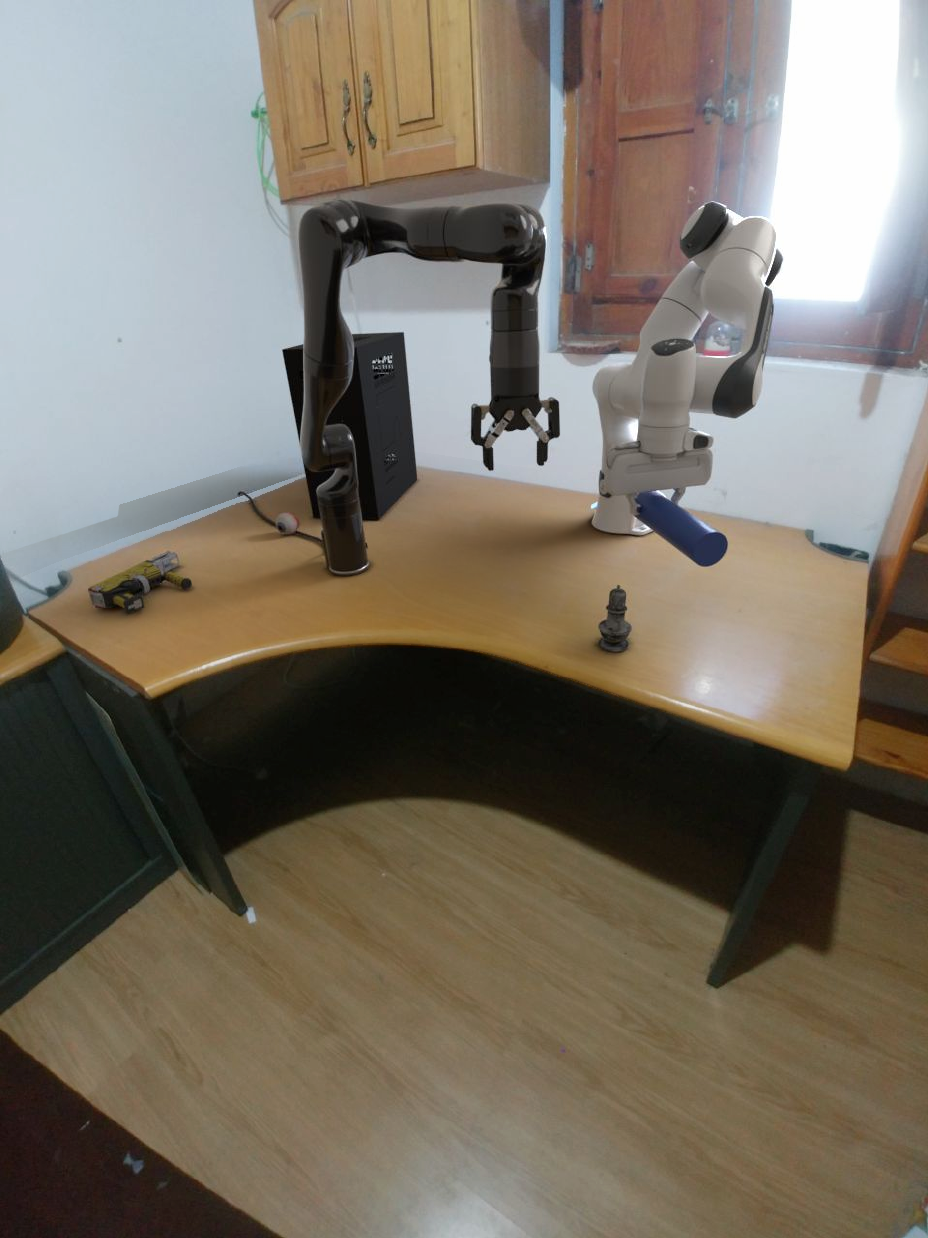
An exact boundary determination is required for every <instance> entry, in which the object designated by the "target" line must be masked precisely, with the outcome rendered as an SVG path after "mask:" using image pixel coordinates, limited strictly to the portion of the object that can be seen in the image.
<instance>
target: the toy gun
mask: <svg viewBox="0 0 928 1238" xmlns="http://www.w3.org/2000/svg"><path fill="white" fill-rule="evenodd" d="M175 559H176V561H177V563H176V562H173V560H175ZM178 567H180V561H179V554H177V553H176V552H174V551H173V552H171V550H170V551H169V550H167V551H165V552H164V553H161V554H159V555H157V556H155V557H152V558H151V559H146V560H145V561H142V562H139V563H138V564H136V565H133V566H132V567H130V568H127V569H125V570H123V571H120V572H118V573H116V574H115V575H113V576H111V577H108V578H107V579H104V580H102V581H100V582H97V583H96V584H93V585H91V586H89V587H88V588H87V591H88V594H89V599H90V602H91V605H93V606H94V607H95V609H99V610H102V609H104V608H105V609H112V608H116V607H121V608H123V609H124V610H125V614H126V615H131V614H134V613H136V612H138V611H140V610H143V609H145V608H146V607H145V602H144V598H143V596H144V595H146V594H148V593H150V590H151V588H153V587H156V586H158V585H160V584H163V583H164V581H166V582H168V583H170V584H173V585H176V586H178V587H181V588H182V589H184V590H188V589H190V588H191V587H193V583H192V582H193V581H192V579H190V578H189V577H184V576H182V575H180V574H178V573H174V572H173V571H172V570H173V569H176V568H178Z"/></svg>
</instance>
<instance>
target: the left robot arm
mask: <svg viewBox="0 0 928 1238" xmlns="http://www.w3.org/2000/svg"><path fill="white" fill-rule="evenodd" d="M297 231H298V232H297V233H298V234H297V241H298V243H297V244H298V256H299V265H300V275H301V287H302V301H303V302H302V303H303V304H302V306H303V343H302V344H303V370H304V404H303V415H302V424H301V434H300V443H299V448H301V449H300V455H301V459H302V463H303V462H304V464H305V466H306V467H307V468H308V469H309V470H310V471H312V472H323V471H328V470H333V469H335V472H334V473H333V475H332V476H331V477H330V478H329V479H328V480H326V481H325V482H324V483H322V484H321V485H319V487H318V488H317V490H316V494H317V500H318V505H319V510H320V516H321V518H320V521H321V526H322V530H321V531H320V536H321V538H320V537H317V536H315V535H311V534H308V533H304V532H302V531H299V530H297V531H296V532H294V533H293V534H297V535H300V536H302V537H306V538H309V539H311V540H316V541H317V542H319V543H321V544H322V548H323V552H324V557H325V558H324V559H325V563H326V568H327V569H329V572H330V573H331V574H333V575H335V576H341V577H343V576H345V577H346V576H353V575H357V574H361V573H363V572H365V571H366V570H368V569H369V567H370V560H369V558H368V549H369V547H368V543H367V541H366V535H365V529H364V521H363V519H362V514H361V507H360V500H359V493H358V474H357V464H356V452H355V444H354V439H353V436H352V433H351V431H350V429H349V428H348V427H347V426H346V425H345V424H343V423H335V424H330V425H326V421H327V419H328V417H329V415H330V413H331V411H332V410H333V408H334V407H335V406H336V404H337V403H338V401H339V400H340V398H341V397H342V396H343V394H344V393H345V391H346V390H347V388H348V386H349V384H350V382H351V379H352V374H353V362H354V341H353V337H352V334H353V333H352V332H351V329H350V327H349V325H348V323H347V321H346V319H345V317H344V315H343V312H342V306H341V287H342V279H343V274H344V271H345V269H348V268H349V267H351V266H354V265H356V264H358V263H360V262H361V261H362V260H363V259H366V258H370V257H373V256H378V255H383V254H384V255H385V254H401V255H406V256H408V257H411V258H413V259H415V260H418V261H423V262H430V263H468V262H472V263H481V264H493V265H494V264H495V265H501V270H500V278H499V279H500V280H499V283H498V285H497V286H495V287H494V288H493V289H492V291H491V294H490V305H489V306H490V307H489V310H490V311H489V312H490V340H489V341H490V342H489V356H488V361H489V371H490V374H489V375H490V401H489V404H481V405H479V404H478V403H472V404H471V406H470V441H471V442H472V443H473V444H474V445H475V446H480V447H482V463H483V466H484V467H485V468H486V469H487V470H488V471H490V472H491V471H494V469H495V468H494V466H495V465H494V448H493V445H494V443H495V442H496V441H497V439H498V438H499V437H500V436H501V435H502V434H503V431H505V432H508V433H509V432H514V431H516V430H518V431H527V429H529V428H530V430H532V431H533V433H534V435H535V436H536V437H537V439H538V440H536V464H537V465H538V466H539V467H543V466H545V463H547V462H548V458H549V442H550V441H551V440H553V439H559V438H560V436H561V422H560V401H559V400H558V399H557V398H555V397H553V396H551V397H549V398H547V399H542V400H541V398H540V355H541V353H540V350H541V349H540V335H539V293H540V288H541V287H540V286H541V283H542V278H543V273H544V266H545V262H546V261H545V260H546V253H547V245H548V243H547V228H546V224H545V220H544V218H543V216H542V215H541V213H540V212H539V211H538V210H537V209H536V208H535V207H534V206H532V205H528V204H519V203H511V202H495V203H494V202H493V203H485V204H478V205H471V206H468V205H431V206H430V205H429V206H428V205H427V206H411V207H397V206H396V207H394V206H387V205H379V204H374V203H369V202H366V201H365V202H364V201H360V200H355V199H349V198H344V197H343V198H342V197H340V198H334V199H330V200H327V201H325V202H322V203H319V204H316V205H313V206H310V208H308V209H307V210H305V211H304V212H303V214H302V216H301V217H300V220H299V223H298V230H297ZM542 408H543V410H544V413H546V414H547V425H548V426H547V427H548V429H547V430H544V428H543V427H542V425H541V424H540V422H538V420H537V419H536V418H537V417H538V415H539V414H540V413H541V410H542ZM488 413H489V415H490V416H491V418H493V421H492V422H491V423H490V425H489V426H488V430H487V431H486V432H485V434H484V436H482V421H484V420H485V419H486V417H487V414H488ZM240 495H243V496H245V497H246V498H247V499H248V500H249V502H250V505H251V506H252V508H253V510H254V511H255V512H256V514H257V515H258V516H259V517H261V518H262V519H263V520H265V521H266V522H268V523H270V524H271V525H274V526H276V521H273V520H271V519H270V518H268V517H266V516H265V515H264V514H262V512H260V511H259V510H258V508H257V507H256V505H255V504H254V501H253V498H252V497H251V496H250V495H249V494H247V493H246V492H245V491H238V492H237V496H240Z"/></svg>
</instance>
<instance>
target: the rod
mask: <svg viewBox="0 0 928 1238" xmlns="http://www.w3.org/2000/svg"><path fill="white" fill-rule="evenodd" d="M666 497H667V496H666ZM666 497H664V496H663V495H661V494H659V493H658V492H656V491H650V492H642V493H639V494H637V498H634V500H635V502H636V503H638V504H639V505H641V506H642V507H641V510H640V511H641V513H640V514H638V515H634V516H635V517H636V518H637V519H638V520H640V521H641V522H642V523H644V524H645V525H646V526H648V527H649V528H650V529H652V530H653V531H652V532H654V533H655V534H657V535H658V536H659V537H660V538H661V539H663V540H665V541H666V542H667V543H668V544H670V545H671V546H672V547H674V548H675V549H676V550H678V551H679V552H680V553H682V554H683V555H684V556H685V557H687V558H688V559H690V560H691V561H692V562H693V563H695V564H696V565H698V566H699V567H704V568H707V567H711V566H714V565H716V564H717V563H719V562H720V561H722V559H723V557H724V556H725V555H726V554H727V551H728V546H729V541H728V538H727V537H726V535H725V533H722V532H721V531H719V530H718V529H716V528H714V527H713V526H711V525H709V524H708V523H707V522H705V521H703V520H702V519H700V518H699V517H697V516H695V515H694V514H693V513H691V512H689V511H688V510H686V509H685V508H683V507H682V506H680V505H679V504H678V505H677V504H675V503H674V502H672V501H670V500H669V499H670V498H668V497H667V498H666Z"/></svg>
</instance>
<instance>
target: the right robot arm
mask: <svg viewBox="0 0 928 1238" xmlns="http://www.w3.org/2000/svg"><path fill="white" fill-rule="evenodd" d="M679 249H680V251H681V252H682V253H683V255H684V256H685V257H686V258H687V259H688V260H690V259H691V261H690V262H689V263H687V264H686V265H685V266H684V267H683V268H682V270H681V271H680V272H679V273H678V274H677V275H676V276H675V277H674V279H673V280H672V281H671V283H670V284H669V285H668V287H667V288H666V289H665V291H664V293H663V294H662V296H661V297H660V299H659V301H658V302H657V304H656V305H655V306H654V308H653V310H652V312H651V313H650V314H649V316H648V318H647V320H645V323H644V324H643V326H642V327H641V329H640V331H639V340H640V341H639V346H638V349H637V351H636V355H635V357H634V360H633V361H632V363H631V364H630V363H627V362H615V363H610V364H607V365H605V366H603V367H602V368H600V369H599V370H598V371H597V372H596V374H595V376H594V378H593V379H592V380H593V381H592V385H591V388H592V394H593V397H594V398H595V401H596V404H597V407H598V408H597V409H598V414H599V421H600V428H601V434H602V453H601V468H600V470H599V474H598V492H599V493H598V498H597V501H596V502H594V503H592V504H591V505H590V509H594V508H595V511H594V514H593V517H592V520H591V525H592V526H593V527H594V528H595V529H597V530H599V531H601V532H605V533H611V534H623V535H625V534H626V535H632V536H633V535H634V536H645V535H646V534H650V533H652V532H654V531H653V530H652V529H650V528H649V527H648V526H646V525H645V524H644V523H642V522H641V521H640V520H638V519H637V518H636V517H635V516H634V515H638V514H640V513H641V511H640V510H641V507H642V506H641V505H639V504H638V503H636V502H635V500H634V498H637V494H639V493H642V492H650V491H656V492H658V493H659V494H661V495H663V496H664V497H666V498H667V499H669V500H670V501H672V502H674V503H675V504H677V505H678V506H679V502H680V500H682V498H683V496H684V495H685V494H686V490H687V489H686V488H691V487H697V486H705V485H707V484H708V482H709V481H710V480H711V477H712V473H713V463H714V454H713V451H712V450H711V449H710V448H712V447H713V444H714V436H713V435H710V434H708V433H707V432H705V431H702V430H698V429H695V428H693V427H690V424H691V417H690V413H692V414H693V413H694V414H705V415H715V416H719V417H724V418H729V419H739V418H740V417H742V416H743V415H745V414H747V413H748V412H750V411H751V410H752V409H754V408H755V407H756V405H757V402H758V401H759V398H760V396H761V392H762V387H763V372H764V371H763V370H764V367H765V366H764V365H765V360H766V356H767V350H768V347H769V346H768V345H769V342H770V335H771V331H772V324H773V317H774V309H775V295H774V292H773V289H772V288H770V286H771V285H772V284H773V283H774V282H775V280H776V279H777V277H778V276H779V273H780V272H781V270H782V268H783V265H784V260H785V259H784V258H785V256H784V253H783V252H782V250H781V249H780V247H779V246H778V230H777V228H776V227H775V225H774V224H773V222H772V221H770V219H768V218H766V217H763V216H759V215H752V216H748V217H745V218H744V217H742V216H740V215H738V214H736V212H733V211H732V210H729V209H727V205H724V204H722V203H719V202H718V201H713V200H712V201H708V202H705V203H703V204H702V205H701V206H700V207H699V208H697V209H696V210H695V211H694V212H692V214H691V215H690V216H689V218H688V219H687V221H686V222H685V224H684V226H683V229H682V232H681V235H680V237H679ZM708 315H711V316H712V317H713V318H714V319H716V320H718V321H719V322H723V323H726V324H730V325H733V326H736V327H737V328H740V329H742V330H743V331H744V332H743V337H742V342H741V346H740V351H739V352H738V353H736V354H733V355H729V356H715V355H714V356H713V355H697V347H696V343H695V342H694V341H692V340H693V338H694V337H695V335H696V334H697V333H698V331H699V329H700V328H701V326H702V325H703V323H704V321H705V320H706V318H707V316H708ZM665 490H666V491H667V490H673V491H674V492H673V494H672V496H671V497H670V498H668V497H667V496H666V495H665V494H664V492H661V491H665Z"/></svg>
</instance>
